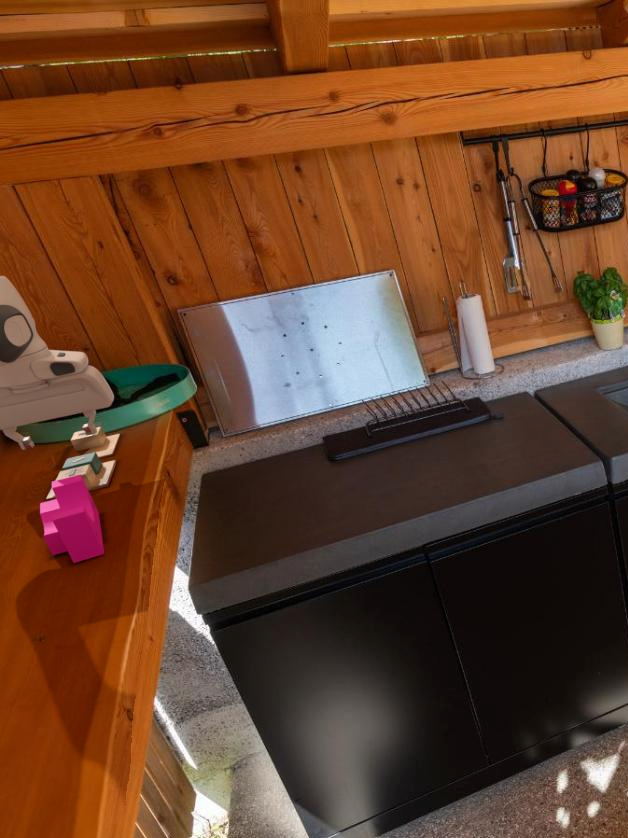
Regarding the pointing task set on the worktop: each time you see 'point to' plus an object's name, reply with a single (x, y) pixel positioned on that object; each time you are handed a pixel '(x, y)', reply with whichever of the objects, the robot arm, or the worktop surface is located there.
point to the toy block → (72, 520)
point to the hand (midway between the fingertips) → (60, 440)
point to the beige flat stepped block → (95, 442)
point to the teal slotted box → (83, 462)
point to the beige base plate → (89, 476)
